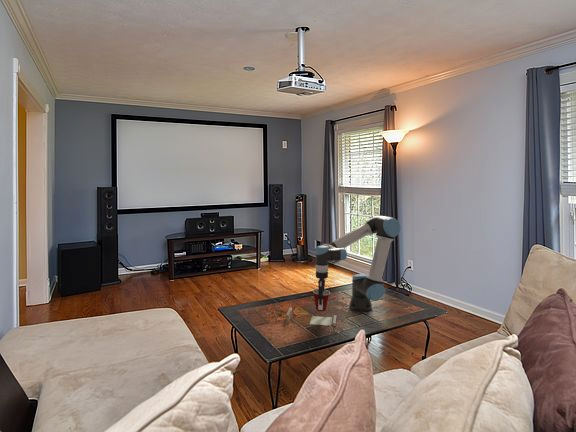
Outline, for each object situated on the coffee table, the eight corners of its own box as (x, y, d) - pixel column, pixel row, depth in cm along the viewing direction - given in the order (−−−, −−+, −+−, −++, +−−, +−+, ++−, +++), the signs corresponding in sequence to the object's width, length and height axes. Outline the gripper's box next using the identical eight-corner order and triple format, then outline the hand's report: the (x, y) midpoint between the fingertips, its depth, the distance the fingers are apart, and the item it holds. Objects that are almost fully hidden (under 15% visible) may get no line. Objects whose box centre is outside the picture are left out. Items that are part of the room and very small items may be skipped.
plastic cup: (329, 313, 228) (329, 294, 227) (311, 312, 230) (311, 293, 229) (330, 307, 239) (331, 289, 237) (313, 306, 241) (313, 287, 239)
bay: (336, 318, 240) (336, 310, 239) (335, 326, 227) (335, 318, 227) (289, 315, 245) (289, 307, 245) (286, 322, 233) (286, 314, 232)
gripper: (317, 266, 243) (317, 300, 245) (313, 275, 222) (313, 312, 224) (329, 267, 242) (328, 301, 244) (326, 276, 220) (325, 313, 223)
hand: (321, 306), depth 234 cm, fingers closed on plastic cup, 9 cm apart
